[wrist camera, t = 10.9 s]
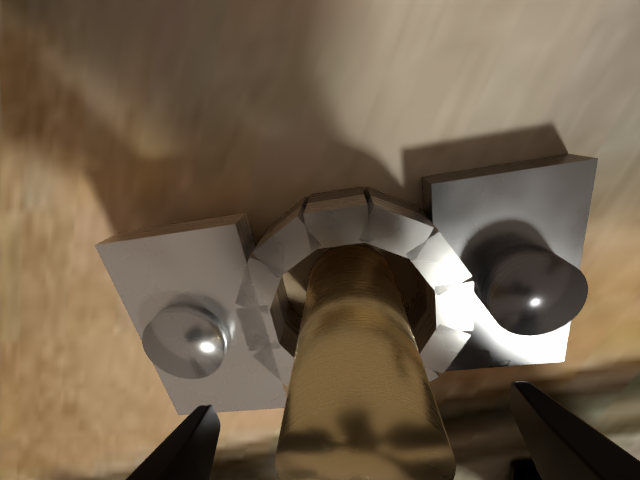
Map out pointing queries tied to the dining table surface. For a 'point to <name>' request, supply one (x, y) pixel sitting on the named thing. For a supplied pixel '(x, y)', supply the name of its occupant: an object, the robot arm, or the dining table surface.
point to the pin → (359, 382)
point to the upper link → (266, 295)
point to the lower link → (504, 253)
